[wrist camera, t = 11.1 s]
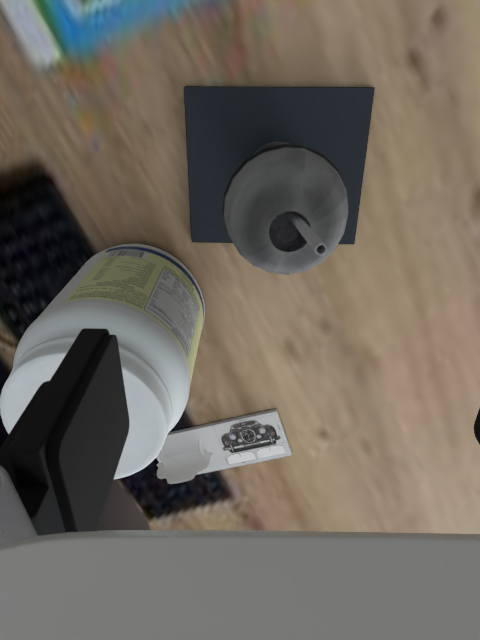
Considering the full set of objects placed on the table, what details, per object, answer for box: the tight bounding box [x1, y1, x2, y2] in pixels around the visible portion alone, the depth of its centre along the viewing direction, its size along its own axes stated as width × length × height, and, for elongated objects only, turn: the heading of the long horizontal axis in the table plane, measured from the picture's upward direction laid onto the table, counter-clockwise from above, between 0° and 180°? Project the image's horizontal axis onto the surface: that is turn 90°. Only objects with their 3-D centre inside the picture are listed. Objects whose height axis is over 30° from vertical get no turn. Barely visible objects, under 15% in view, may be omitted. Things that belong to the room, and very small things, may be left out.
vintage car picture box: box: [156, 409, 292, 484], centre depth 49 cm, size 15×7×4 cm, turn 107°
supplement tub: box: [0, 243, 205, 479], centre depth 35 cm, size 12×12×17 cm
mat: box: [184, 86, 375, 244], centre depth 37 cm, size 14×12×1 cm
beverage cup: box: [222, 142, 349, 275], centre depth 28 cm, size 7×7×20 cm
